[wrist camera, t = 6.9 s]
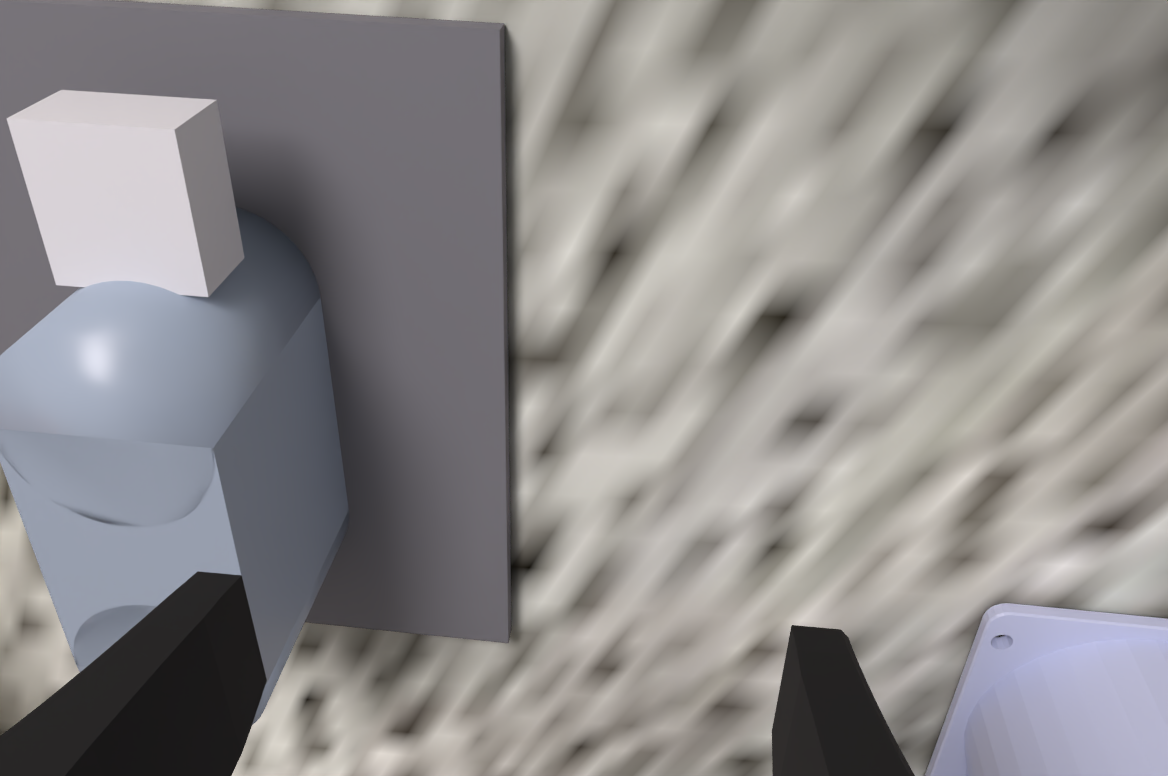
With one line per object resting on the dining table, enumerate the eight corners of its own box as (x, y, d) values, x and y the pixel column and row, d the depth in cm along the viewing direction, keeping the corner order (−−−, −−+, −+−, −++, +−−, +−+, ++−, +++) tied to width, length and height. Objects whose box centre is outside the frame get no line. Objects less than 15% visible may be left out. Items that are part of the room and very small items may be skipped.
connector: (356, 568, 25) (280, 748, 21) (208, 554, 26) (100, 728, 21) (290, 71, 18) (152, 176, 14) (87, 58, 19) (-115, 157, 14)
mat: (511, 629, 27) (508, 643, 26) (92, 586, 28) (83, 598, 27) (504, 23, 18) (499, 29, 18) (-110, -14, 19) (-129, -8, 18)
